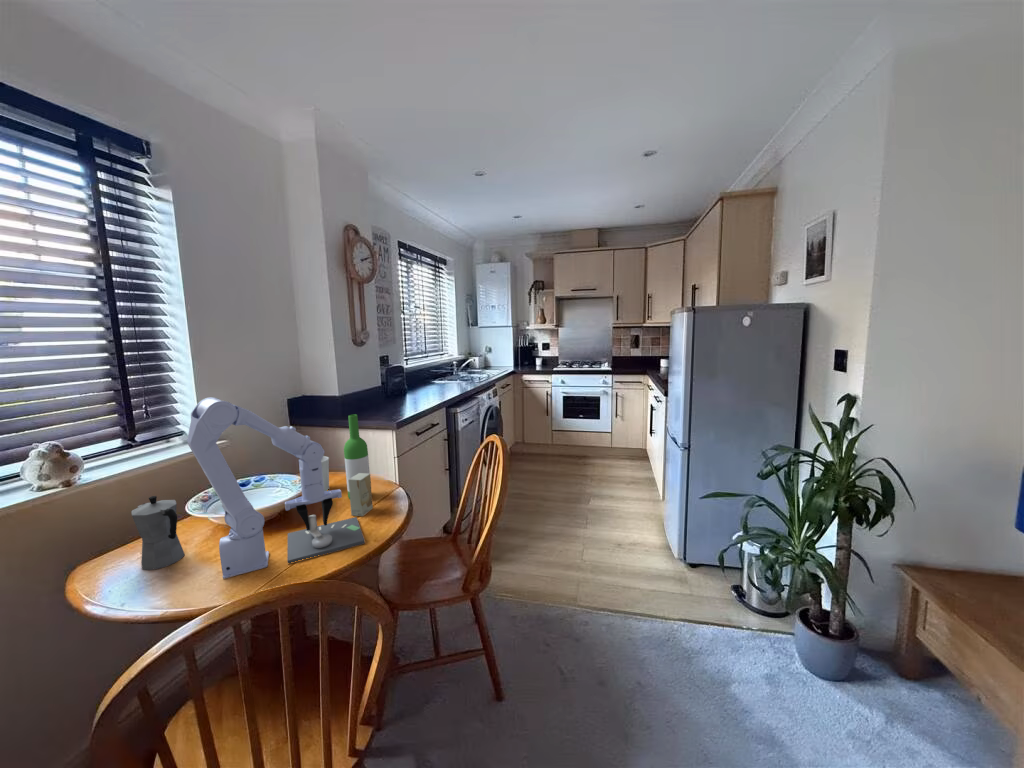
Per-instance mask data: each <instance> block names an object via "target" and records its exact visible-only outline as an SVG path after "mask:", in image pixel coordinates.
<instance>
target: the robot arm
mask: <svg viewBox="0 0 1024 768" xmlns="http://www.w3.org/2000/svg"><path fill="white" fill-rule="evenodd" d="M232 425H233V426H235V427H236V426H247V427H249V429H250V428H251V429H252V430H254V431H257V432H259V433H261V434H263V435H266V436H267V437H269V438H270V439H271V443H272V445H273V446H274V447H276V448H279V449H280V450H283V451H285V452H286V453H288V454H291V456H294V457H295V458H297V459H298V465H299V470H298V471H299V476H300V477H299V478H300V487H301V488H300V489H301V496H298V497H296V498H294V499H289V500H287V501H284V508H285V511H290V510H291V509H296V511H297V513H298V515H300V517H301V519H302V520H303V523H304V525H305V529H307V530H310V526H309V522H308V516H309V514H308V513H309V511H308V507H307V506H308V505H311V504H315V503H320V502H321V508H322V523H323V525H324V526H326V525H327V524H328V518H329V515H330V512H331V509H332V507H333V504H334V503H333V502H334V501H333V499H340V498H343V495H342V490H341V489H340V488H339V489H332V490H328V491H324V483H323V472H322V463H321V459H322V458H323V456H325V449H323V447H322V444H320V443H318V441H317V442H316V441H313V440H311V436H309V435H303V434H302V433H299V432H298V431H296V430H297V428H296V427H294V426H291V425H290V426H287V425H284V426H281V427H279V426H277V425H275V424H273V423H272V422H270V421H269V420H266V419H265V418H264V417H262V416H259V415H258V414H256V413H255V412H253V411H251V410H250V409H248V408H244V407H242V406H238V405H236V404H233V403H232V402H229V401H228V400H227V401H226V400H222V399H220V398H217V397H213V396H212V397H206V398H203V399H200V401H199V402H197V404H196V405H195V407H194V408H193V409H192V411H191V412H190V424H189V429H188V436H187V439H186V440H187V445H188V447H189V449H190V451H191V452H192V454H193V456H194V457H195V458H196V461H197V463H198V464H199V466H200V468H201V469H202V471H203V473H204V475H205V476H206V478H207V480H208V482H209V484H210V485H211V486H212V489H213V490H214V492H215V494H216V495H217V497H218V499H219V501H220V502H221V507H222V509H223V511H224V522H225V524H226V525H227V526H229V527H230V529H229V533H228V535H225V536H222V537H220V539H219V543H218V545H219V547H218V549H219V557H220V559H219V560H220V566H221V571H222V572H221V573H222V579H228V578H232V577H234V576H240V575H243V574H246V573H251V572H254V571H258V570H262V569H265V568H268V566H269V558H270V557H269V556H270V551H268V550H266V545H265V544H266V543H265V537H264V536H265V535H264V528H263V527H264V525H265V516H264V515H263V514H262V513H261V512H259V511H257V510H256V509H255V508H254V506H253V504H252V503H251V502H250V500H249V499H248V498H247V497H246V495H245V493H244V492H243V490H242V488H241V486H240V484H239V482H238V480H237V479H236V477H235V475H234V473H233V472H232V470H231V468H230V466H229V465H228V462H227V461H226V459H225V456H224V455H223V453H222V451H221V449H220V447H219V446H218V444H217V443H218V440H219V439H220V437H221V435H222V434H223V433H224V432H225V431H226V430H227V429H228V428H229V427H230V426H232Z"/></svg>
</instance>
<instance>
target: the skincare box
mask: <svg viewBox="0 0 1024 768" xmlns="http://www.w3.org/2000/svg"><path fill="white" fill-rule="evenodd" d="M371 479H372V478H371V473H370V474H367V473H358V474H357V475H355V476H353V477H352V478H350V479H349V491H350V499H349V502H350V515H351V516H355V517H364V516H365V515H366V514H368V513H369V512H370V511H371V510H373V508H374V507H373V495H372V482H371V481H372V480H371Z"/></svg>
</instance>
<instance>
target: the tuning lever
mask: <svg viewBox="0 0 1024 768" xmlns="http://www.w3.org/2000/svg"><path fill="white" fill-rule="evenodd" d="M317 521H318V520H317V514H311V515H308V522H309V526H310V530H309V532H310V533H311V534H312V535H313V536H314V539H313V540H312V546H313V547H314V548H323V547H326V546H328V545H330V544H331V543H332V536H331V535H328V534H325V535H322V534H321V533H320V532H319V531H318V530H317V526H318V523H317Z"/></svg>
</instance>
